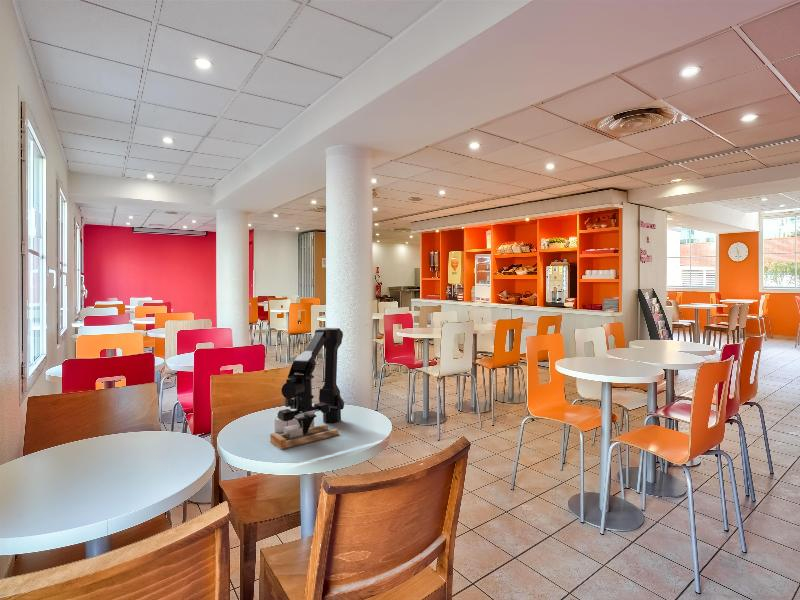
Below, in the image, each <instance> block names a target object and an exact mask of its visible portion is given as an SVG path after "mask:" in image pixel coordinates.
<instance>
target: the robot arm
mask: <svg viewBox="0 0 800 600" xmlns="http://www.w3.org/2000/svg"><path fill="white" fill-rule="evenodd" d="M343 337H344V332H343V331H342V330H341V328H340V327H325V328H316V329H315V331H314V335H313V336H312V338H311V340H310V341H309V343H308V345H307V347H306V348H305V350H304V351H303V352H302V353H301V354H298V355H297V356H296V357H295V358H294V360H293V362H292V364H291V366H290V370H289V371H288V375H287V379H286V382H285V383H283V385H282V387H281V394H282V396H283V397H284V398H285V399H284V404H285V405H284V406H285V407H286V409H281V410H279V411H278V412H277V416H278V419H280V420H282V421H289V420H293V419H294V418H295V419H297V421H298V422H299V424H300V427H302V430H303V434H304V435H303V436H305V435H306V434H307V432H308V430H309V427H310V425H311V423H312V421H313V419H314V420H315V418H317V415H316V412H321V413H322V419H323V420H322V421H323V422H322V423H324V424H328V425H329V424H337V423H339V422H341V421H342V411H341V410H344V407H345V401H344V400H343V397H341V391H340V390H341V389H339V386H338V385H337V380H338V379H337V377H338V376H337V375H338V374H337V373H338V369H337V368H338V351H339V350H338V349H339V348H340V346H341V344H342V342H343V341H342V340H343ZM323 347H324V349H325V355H324V356H325V358H324V359H325V362H324V382H323V383H324V385H323V386H322V388H320V389H319V393H318V394H319V395H318V402H317V403H314V404H313V399H314V397H315V396H314V395H313V391H312V388H313V387H312V385H313V384H312V380H313V379H314V378H315V376H314V375H313V373H314V371H315V367H316V365H317V364H316V360H317V359H316V358H317V356H318V355H319V353H320V351H321V350H322V348H323Z"/></svg>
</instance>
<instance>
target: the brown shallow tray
mask: <svg viewBox="0 0 800 600" xmlns="http://www.w3.org/2000/svg"><path fill="white" fill-rule="evenodd" d="M269 436H270V437H269V438H270V440H269V443H271V444H273V445H274V446H276V447H277V448H279V449H281V450H282V451H284V450H288V449H291V448H294V447H300V446H304V445H308V444H312V443H316V442H320V441H324V440H328V439H332V438H336V437H340V436H341V435H340V433H339V429H338V428H334V429H329V424H328V423H327V424H326V423H324V424H319V425H316V426H315V425H314V427H311V428H309V430H308V432H307V434H306V435H304V434H303V437H300V438H296V439H292V440H287V441H286V439H285V438H284V433H282V434H278V432H274V433H270V434H269Z"/></svg>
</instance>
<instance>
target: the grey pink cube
mask: <svg viewBox="0 0 800 600" xmlns="http://www.w3.org/2000/svg"><path fill="white" fill-rule="evenodd" d="M283 434H284V438H285V439H286V441H287V440H292V439H296V438H300V437H303V436H304V435H303V430H302V427H300V426H298V425H292V426H287V427H284V432H283Z"/></svg>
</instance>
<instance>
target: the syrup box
mask: <svg viewBox="0 0 800 600" xmlns="http://www.w3.org/2000/svg"><path fill="white" fill-rule="evenodd" d="M292 425H298V426H300V424H299V422H298V421H297V419H295V418H294V419H293V420H289V421H282V420H280V419H278V415H277V417H276V418H275V419H274V433H282V432H283V433H284V427H287V426H292ZM311 427H315V418H314V419H313V421H312V423H311V425H310V427H309V428H311Z"/></svg>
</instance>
